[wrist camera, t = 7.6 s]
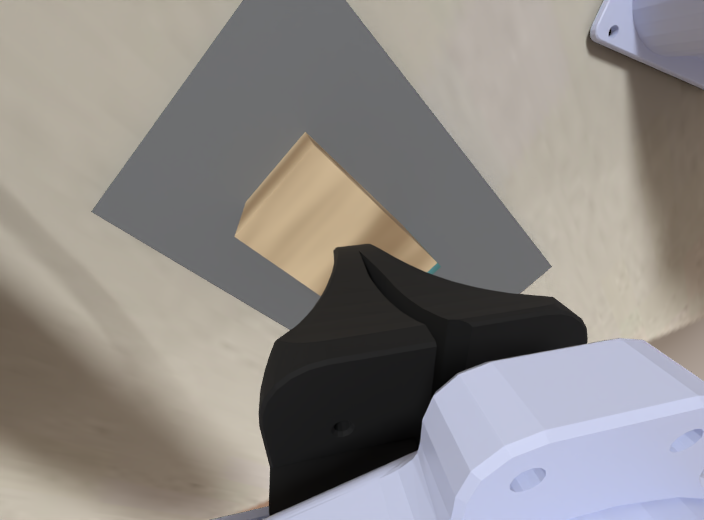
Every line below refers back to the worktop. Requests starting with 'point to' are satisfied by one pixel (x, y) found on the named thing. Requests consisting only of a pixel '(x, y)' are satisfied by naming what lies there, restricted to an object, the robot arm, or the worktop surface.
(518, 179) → the worktop surface
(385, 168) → the mat
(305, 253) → the oak block
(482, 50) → the worktop surface
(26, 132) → the worktop surface
